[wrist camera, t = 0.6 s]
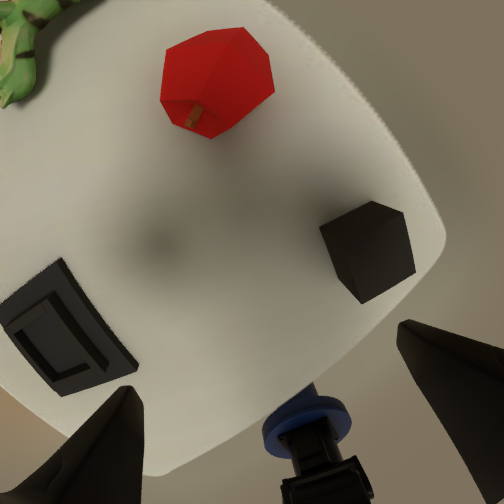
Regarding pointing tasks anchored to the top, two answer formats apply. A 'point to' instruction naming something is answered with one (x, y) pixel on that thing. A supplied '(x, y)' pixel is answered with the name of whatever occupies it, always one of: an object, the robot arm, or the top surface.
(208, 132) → the apple
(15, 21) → the toy
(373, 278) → the black block
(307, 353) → the top surface
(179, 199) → the top surface
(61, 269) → the base pad
